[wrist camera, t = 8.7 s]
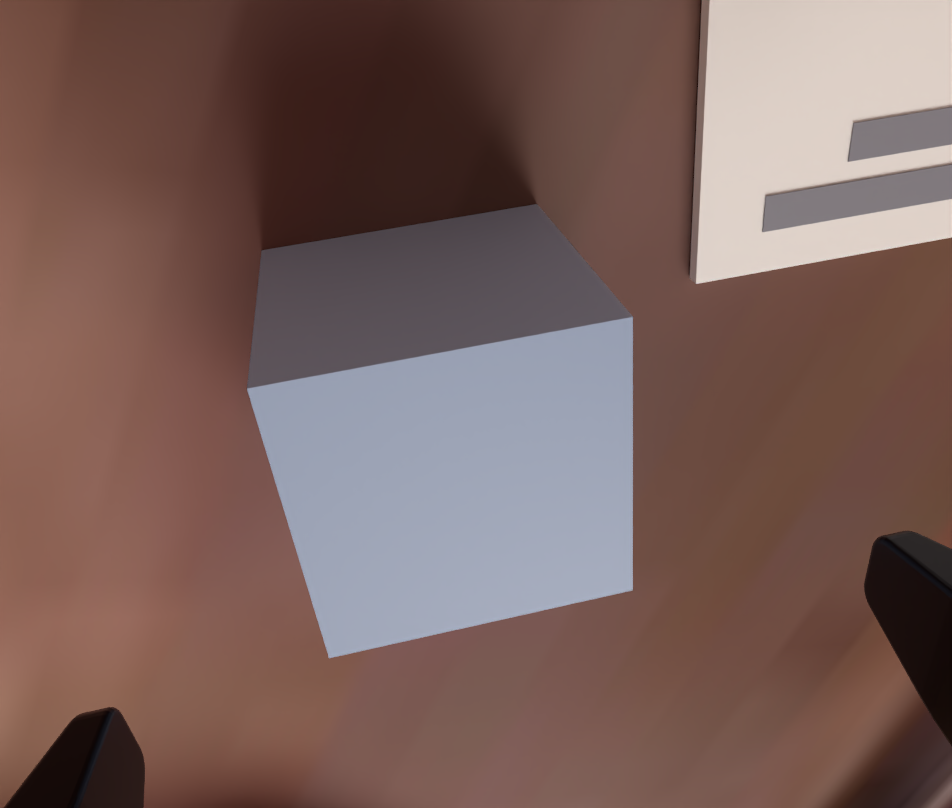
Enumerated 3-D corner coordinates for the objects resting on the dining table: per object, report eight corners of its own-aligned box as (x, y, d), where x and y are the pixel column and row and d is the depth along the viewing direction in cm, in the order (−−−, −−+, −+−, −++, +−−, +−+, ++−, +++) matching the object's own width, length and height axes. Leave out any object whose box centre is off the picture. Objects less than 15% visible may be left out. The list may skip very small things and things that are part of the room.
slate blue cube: (536, 202, 15) (632, 317, 10) (551, 427, 17) (632, 589, 13) (262, 248, 14) (246, 388, 10) (321, 472, 17) (329, 657, 12)
